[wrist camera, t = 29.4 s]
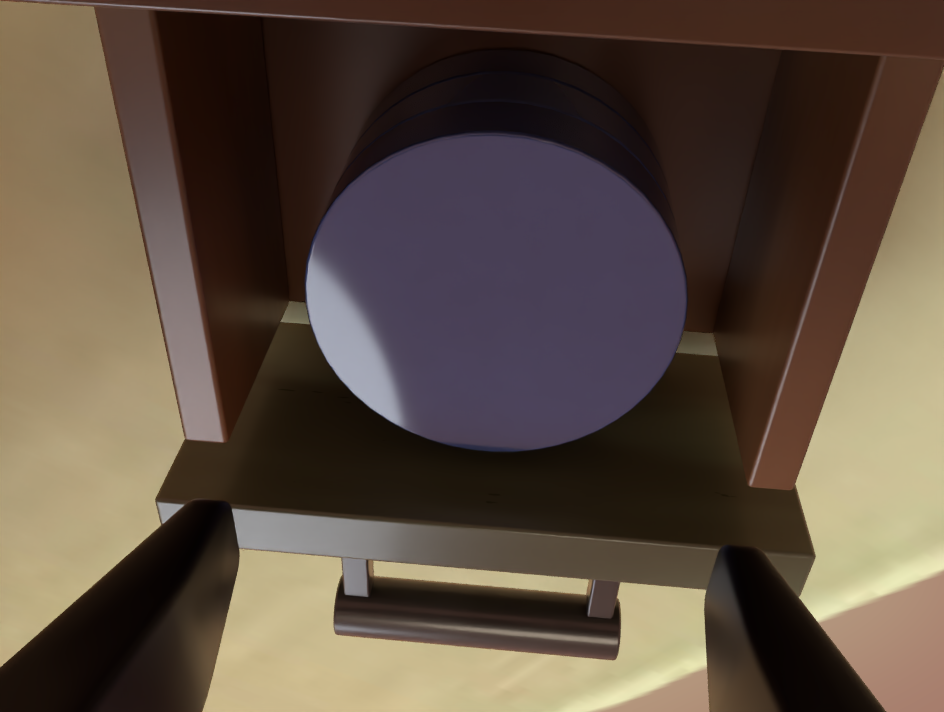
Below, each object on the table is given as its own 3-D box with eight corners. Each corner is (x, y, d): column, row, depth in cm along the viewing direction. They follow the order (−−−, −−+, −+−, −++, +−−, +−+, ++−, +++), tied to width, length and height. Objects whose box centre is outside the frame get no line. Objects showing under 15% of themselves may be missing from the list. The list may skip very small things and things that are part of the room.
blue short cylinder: (379, 346, 20) (348, 460, 17) (312, 67, 16) (258, 152, 13) (668, 329, 19) (686, 446, 16) (666, 29, 15) (690, 111, 12)
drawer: (708, 538, 24) (742, 743, 20) (268, 501, 25) (201, 691, 20) (945, -278, 13) (1145, -251, 9) (153, -315, 14) (-52, -309, 9)
